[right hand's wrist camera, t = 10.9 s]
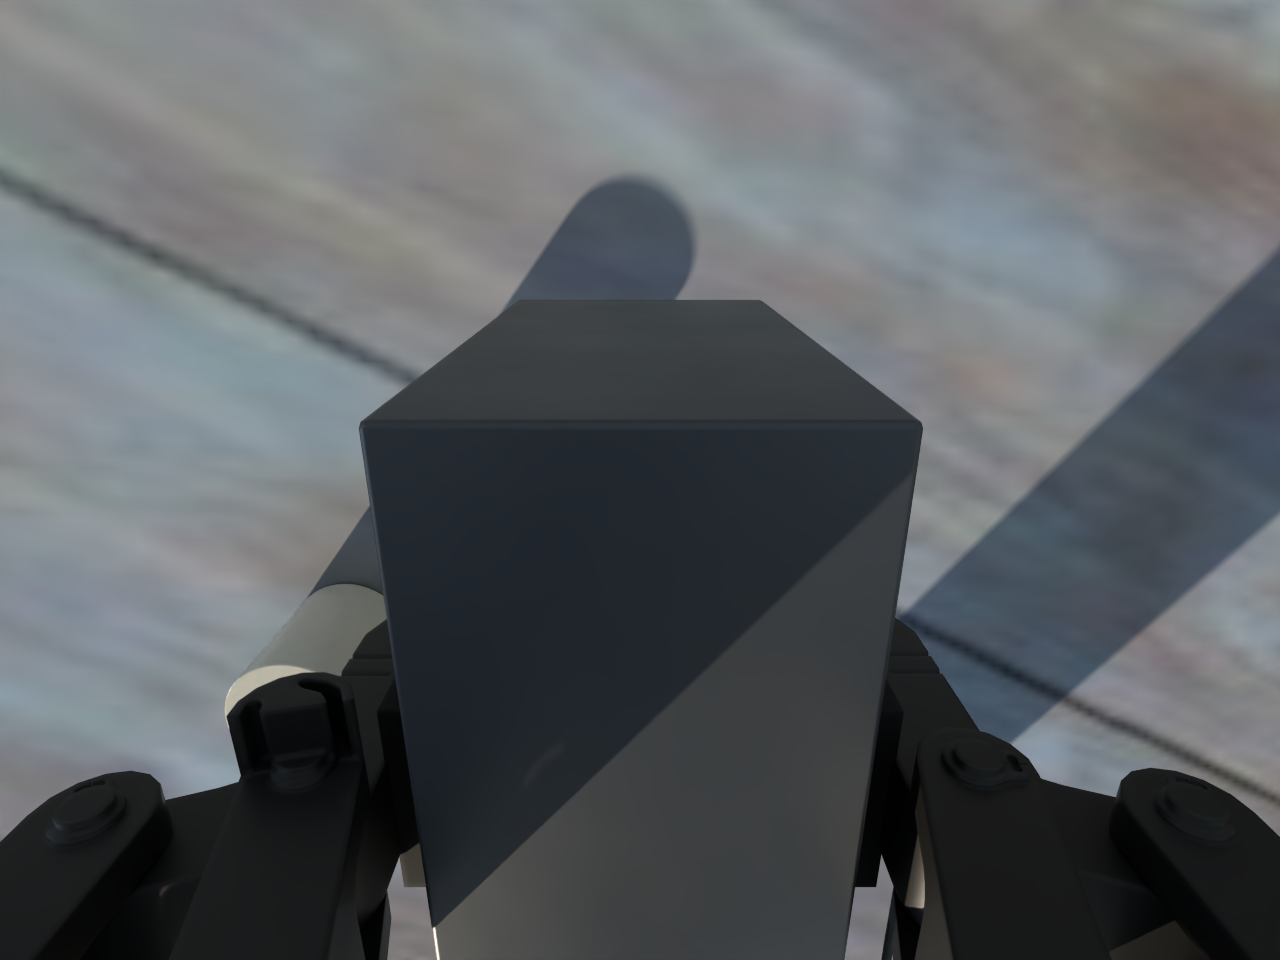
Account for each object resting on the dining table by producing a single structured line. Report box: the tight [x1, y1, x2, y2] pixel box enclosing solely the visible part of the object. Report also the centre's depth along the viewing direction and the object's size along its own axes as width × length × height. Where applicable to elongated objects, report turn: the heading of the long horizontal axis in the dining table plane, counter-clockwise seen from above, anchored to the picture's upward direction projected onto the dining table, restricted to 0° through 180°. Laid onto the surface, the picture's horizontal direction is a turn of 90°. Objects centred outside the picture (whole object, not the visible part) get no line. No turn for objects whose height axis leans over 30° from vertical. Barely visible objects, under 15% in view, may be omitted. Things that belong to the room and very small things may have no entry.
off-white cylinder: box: [225, 584, 387, 727], centre depth 29 cm, size 5×5×6 cm
